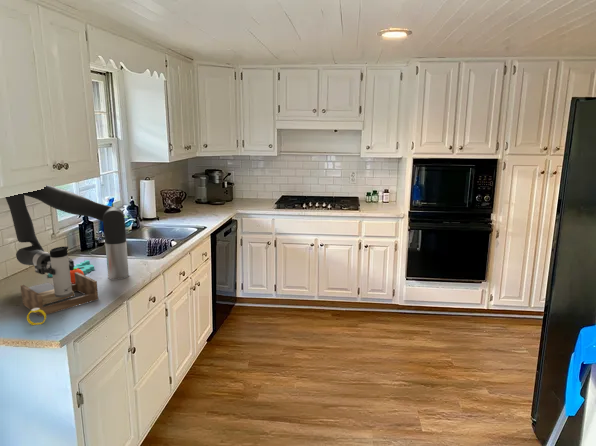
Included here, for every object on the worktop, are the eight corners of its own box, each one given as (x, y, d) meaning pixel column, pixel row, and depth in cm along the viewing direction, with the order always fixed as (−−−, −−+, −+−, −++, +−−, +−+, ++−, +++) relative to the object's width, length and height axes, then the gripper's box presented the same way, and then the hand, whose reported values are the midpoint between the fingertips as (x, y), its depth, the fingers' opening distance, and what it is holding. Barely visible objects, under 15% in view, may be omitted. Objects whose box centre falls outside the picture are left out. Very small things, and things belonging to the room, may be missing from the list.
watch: (27, 327, 158) (24, 312, 156) (30, 324, 160) (26, 308, 159) (45, 324, 159) (42, 309, 158) (48, 321, 162) (45, 306, 160)
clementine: (67, 281, 203) (65, 266, 202) (83, 279, 207) (82, 264, 205) (68, 286, 197) (67, 271, 195) (85, 284, 200) (84, 269, 199)
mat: (21, 289, 192) (21, 288, 192) (48, 283, 201) (47, 282, 201) (31, 296, 186) (31, 295, 185) (58, 288, 194) (58, 288, 194)
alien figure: (45, 270, 219) (51, 282, 203) (45, 266, 219) (50, 277, 203) (89, 264, 231) (97, 274, 215) (88, 260, 230) (97, 270, 214)
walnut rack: (22, 304, 177) (20, 285, 175) (78, 289, 194) (77, 272, 192) (40, 316, 166) (38, 296, 164) (98, 299, 183) (96, 281, 181)
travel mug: (71, 296, 176) (65, 249, 171) (53, 298, 174) (47, 250, 169) (74, 291, 182) (69, 244, 177) (57, 292, 180) (51, 245, 175)
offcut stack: (36, 302, 180) (35, 293, 179) (69, 293, 190) (68, 285, 189) (42, 306, 176) (40, 297, 176) (74, 296, 186) (74, 288, 185)
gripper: (25, 257, 178) (42, 265, 167) (62, 249, 189) (80, 257, 178) (28, 274, 179) (45, 284, 169) (64, 266, 190) (82, 274, 180)
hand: (63, 270), depth 174 cm, fingers closed on travel mug, 6 cm apart
